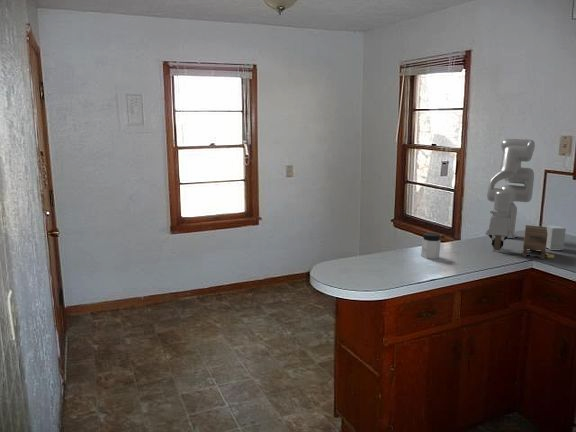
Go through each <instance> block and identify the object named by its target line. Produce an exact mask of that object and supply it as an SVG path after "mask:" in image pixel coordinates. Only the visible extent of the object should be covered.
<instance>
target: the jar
mask: <svg viewBox="0 0 576 432" xmlns="http://www.w3.org/2000/svg"><path fill="white" fill-rule="evenodd" d="M422 236H423V238H422V241H421V250H420V251H421V253H420V256H421V257H422V258H425V259H426V258H429V260H436V259H439V258H440V253H441V234H440V233H437V232H430V231H429V232H424V233H423V235H422Z"/></svg>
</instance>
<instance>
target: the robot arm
mask: <svg viewBox="0 0 576 432" xmlns="http://www.w3.org/2000/svg"><path fill="white" fill-rule="evenodd" d="M535 146H536V145H535V142H534V140H532V139H527V138H525V139H522V138H521V139H520V138H505V139H503V140H502V141H501V147H500V148H501V150H502V157H501V164H500V170H499V171H498V172H497V173H495V175H493V176H492V178H491V179H490V181H489V183H488V189H487V192H486V193H487V194H486V198H487V200H488V201H489V202H491V203H492V202H493V209H492V210H490V214H491V215H490V220H489V225H488V229H487V230H486V232H485V235H486V236H488V237H489V238H490V239H491V246H492V248H493V247H494V242H495V235H499V236H502V237H501V244H500V248H503V247H504V242H505V241H506V240H508V239H507V238H513V239H516V238H515V237H517V238H518V236H517V234H515V230H516V223H517V222H516V221H517V214H518V212H517V211H518V208H517V206H516V204H515V202H517V203H518V202H520V203H529V202H530V201H532V198H533V191H534V190H533V189H534V180H535V171H534V169H533V168H530V167H522V162H525V163H526V162H531V160H532V157H533V155H534V151H535ZM502 180H504V181H505V182H506V183H508V184H505V185H502V186H501V187H500V188H498V187H497V188H496V187H495V186H496V184H498V182H500V181H502ZM509 183H510V184H509ZM514 184H515V185H514ZM516 184H518V185H516ZM520 184H521V185H520ZM522 184H523V185H522Z"/></svg>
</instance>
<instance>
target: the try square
mask: <svg viewBox="0 0 576 432" xmlns="http://www.w3.org/2000/svg"><path fill="white" fill-rule="evenodd" d="M501 237H502V236H499V235H495V242H494V247H493V246H492V252H497V253H504V254H510V253H513V254H512V255H518V254H520V255H519V256H523V250H519V249H518V250H517V249H509V248H503V247H502V248H500V244H501V239H502V238H501ZM541 254H542V252H536V251H527V253H526V255H530V256H529V257H534V256H540V257H539V258H541Z"/></svg>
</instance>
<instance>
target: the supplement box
mask: <svg viewBox="0 0 576 432" xmlns="http://www.w3.org/2000/svg"><path fill="white" fill-rule="evenodd" d="M545 227H547V233H548V235H547V243H546V247H547V248H549V249H557V250H558V249H560V250H563V251H564V247H565V246H564V245H565V238H566V232H567V231H566V228H565V227H562V226H561V225H545Z"/></svg>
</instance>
